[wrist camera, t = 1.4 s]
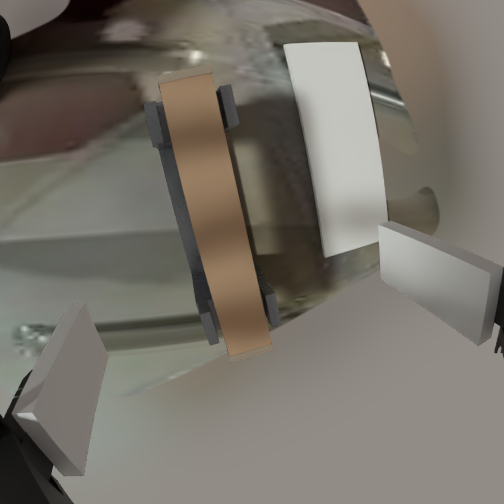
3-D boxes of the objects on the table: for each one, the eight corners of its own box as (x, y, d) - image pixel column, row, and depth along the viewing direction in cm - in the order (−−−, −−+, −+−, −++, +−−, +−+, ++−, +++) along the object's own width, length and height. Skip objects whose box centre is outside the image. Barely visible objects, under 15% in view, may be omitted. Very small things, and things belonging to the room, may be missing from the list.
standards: (149, 106, 28) (137, 85, 19) (213, 91, 29) (228, 64, 20) (202, 308, 36) (213, 360, 26) (257, 292, 36) (285, 338, 27)
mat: (283, 45, 29) (284, 44, 29) (354, 43, 30) (357, 42, 30) (323, 256, 37) (325, 257, 36) (386, 236, 38) (389, 238, 38)
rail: (159, 85, 21) (156, 76, 18) (206, 75, 22) (210, 64, 19) (225, 342, 28) (231, 362, 25) (263, 331, 29) (273, 349, 26)
